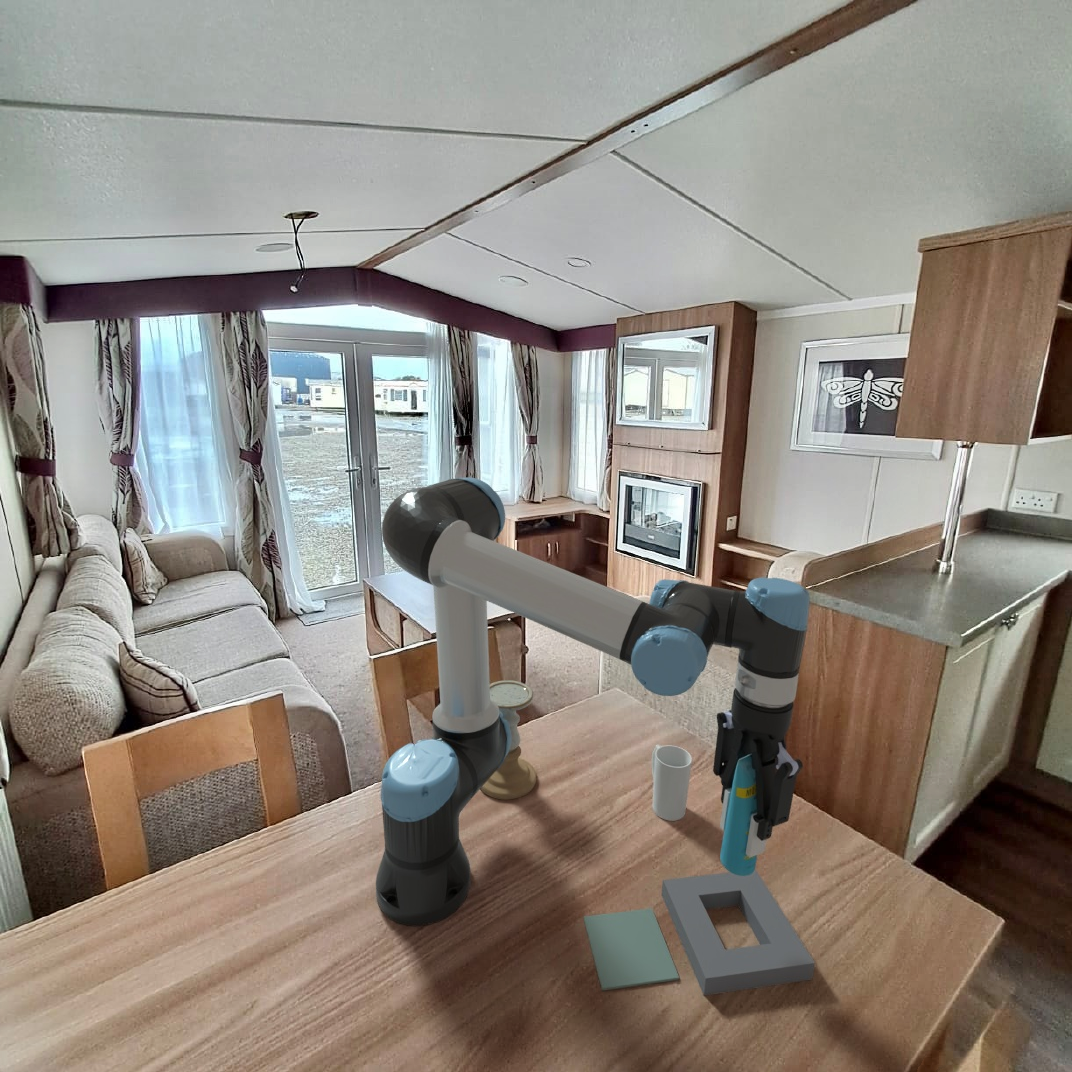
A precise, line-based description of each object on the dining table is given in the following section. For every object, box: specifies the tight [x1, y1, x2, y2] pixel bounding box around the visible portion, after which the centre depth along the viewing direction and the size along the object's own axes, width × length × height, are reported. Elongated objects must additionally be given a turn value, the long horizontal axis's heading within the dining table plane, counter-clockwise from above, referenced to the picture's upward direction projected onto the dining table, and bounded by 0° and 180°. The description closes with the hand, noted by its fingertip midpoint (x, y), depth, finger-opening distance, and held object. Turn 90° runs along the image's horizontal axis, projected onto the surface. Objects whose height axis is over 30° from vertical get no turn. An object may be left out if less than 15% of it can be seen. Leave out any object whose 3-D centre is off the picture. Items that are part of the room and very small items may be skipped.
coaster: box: [583, 908, 680, 991], centre depth 85 cm, size 11×11×1 cm
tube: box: [719, 753, 758, 876], centre depth 81 cm, size 7×5×19 cm, turn 131°
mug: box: [651, 743, 693, 822], centre depth 112 cm, size 10×7×12 cm, turn 20°
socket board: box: [661, 868, 816, 996], centre depth 87 cm, size 16×16×3 cm
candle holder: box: [479, 679, 537, 801], centre depth 117 cm, size 12×12×20 cm
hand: (741, 838), depth 83 cm, fingers closed on tube, 5 cm apart
